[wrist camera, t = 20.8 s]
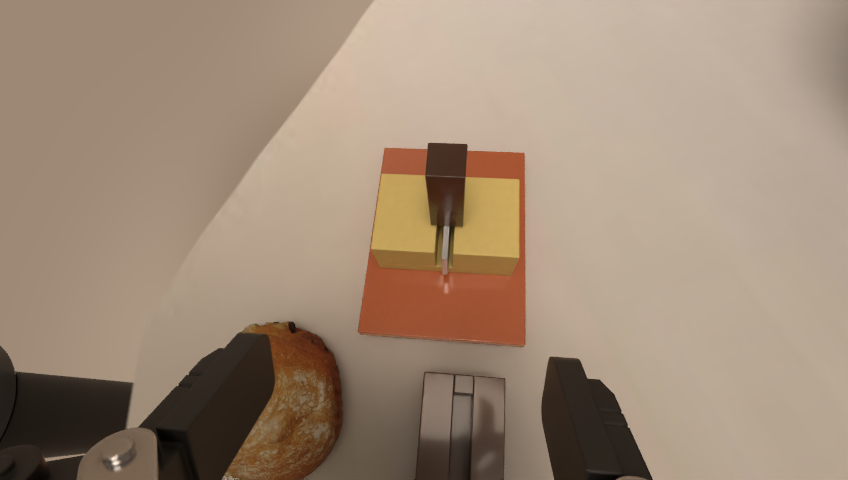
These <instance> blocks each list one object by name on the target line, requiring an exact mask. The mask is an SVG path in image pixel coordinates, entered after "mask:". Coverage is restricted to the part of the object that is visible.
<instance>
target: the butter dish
mask: <svg viewBox="0 0 848 480" xmlns="http://www.w3.org/2000/svg"><path fill="white" fill-rule="evenodd" d="M427 150H428V149H402V148H385V149H384V156H383V163H382V170H381V175H382V174H404V175H425V171H426V160H427ZM466 177H476V178H500V179H519V259H518V262H517V264H516V266H515V269H514V271H513V273H512V276H504V275H488V274H472V273H457V272H448V275H443V273H442V272H441V271H425V270H409V269H393V268H380V267H379V265H378V262H377V260H376V258H375V256H374V254H373V252H372V250H371V245H370V252H369V259H368V266H367V273H366V279H365V286H364V293H363V300H362V307H361V314H360V320H359V327H358V333H360V334H361V335H372V336H385V337H397V338H410V339H423V340H436V341H448V342H461V343H474V344H486V345H499V346H512V347H524V346H525V154H524V153H513V152H485V151H467V164H466ZM380 181H381V177H380ZM379 188H380V184H379ZM378 195H379V190H378ZM377 201H378V197H377ZM376 208H377V204H376ZM375 215H376V211H375ZM374 222H375V218H374ZM373 229H374V225H373ZM372 236H373V231H372ZM371 243H372V238H371Z"/></svg>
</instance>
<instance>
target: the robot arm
mask: <svg viewBox="0 0 848 480" xmlns="http://www.w3.org/2000/svg"><path fill="white" fill-rule="evenodd" d="M274 386H275V372H274V365H273V358H272V351H271V344H270V339H269V336H268V335H267V334H260V333H247V332H240V333H238V334H237V335H236V336H235V337H234V338H233V339H232V341H231V342H230V343H229V344H228V345H227V346H226V347H225V348H224V349H222V348H219V349H217V350H215V351H214V352H212V353H211V354H209V355H207V356H206V357H204V358H203V359H201V360H200V361H199V362H198V363H197V365H196V366H195V367H194V368H193V369H192V370H191V371H190V372H189V375H186V376H185V377H184V379H183V380H182V381H181V382H180V383H179V386H176V387H175V388H174V389H173V390H172V391H171V393H170V394H169V395H168V396H167V397H166V398H165V399H164V400H163V401H162V402H161V403H160V404H159V405H158V406H157V408H156V409H155V410H154V411H153V412H152V413H151V414H150V415H149V416H148V417H147V418H146V419H145V420H144V422H143V423H142V424H141V425H140V426H139V427H138V428H131V429H126V430H122V431H119V432H117V433H114V434H112V435H110V436H108V437H106V438H104V439H103V440H101V441H100V442H98V443H97V444H96V445H94V446H93V447H92V448H91V449H90V450H89V451H88V452H87V453H86V454H85V455H83V456H77V457H72V458H65V459H60V460H54V461H48V462H46V461H45V459H44V457H43V454H42V452H41V450H40V449H39V448H38V447H36V446H34V445H17V446H13V447H9V448H5V449H2V450H0V480H222V478H223V476H224V475H225V473H226V471H227V470H228V468H229V466H230V465H231V463H232V461H233V460H234V458H235V456H236V455H237V453H238V452H239V450H240V448H241V447H242V445H243V443H244V442H245V440H246V438H247V437H248V435H249V433H250V432H251V430H252V428H253V427H254V425H255V423H256V422H257V420H258V418H259V417H260V415H261V414H262V412H263V410H264V409H265V407H266V405H267V404H268V402H269V400H270V399H271V396H272V394H273V391H274ZM541 411H542V424H543V429H544V433H545V438H546V443H547V447H548V452H549V457H550V462H551V466H552V471H553V476H554V480H653V479H652V477H651V475H650V472H649V470H648V468H647V466H646V464H645V461H644V459H643V457H642V455H641V453H640V450H639V448H638V446H637V444H636V442H635V439H634V437H633V435H632V433H631V431H630V428H628V424H627V422H626V420H625V417H624V415H623V414H622V413H621V409H620V406H619V404H618V402H617V400H616V398H615V395H614V394H613V393H612V392H611V391H610V390H609V389H608V388H607V387H606V386H605V385H604V384H603V383H602V382H601V381H600V380H597V379H587V377H586V374H585V372H584V369H583V367H582V364H581V362H580V360H579V359H576V358H563V357H550V358H549V361H548V366H547V372H546V378H545V385H544V391H543V397H542V409H541Z"/></svg>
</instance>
